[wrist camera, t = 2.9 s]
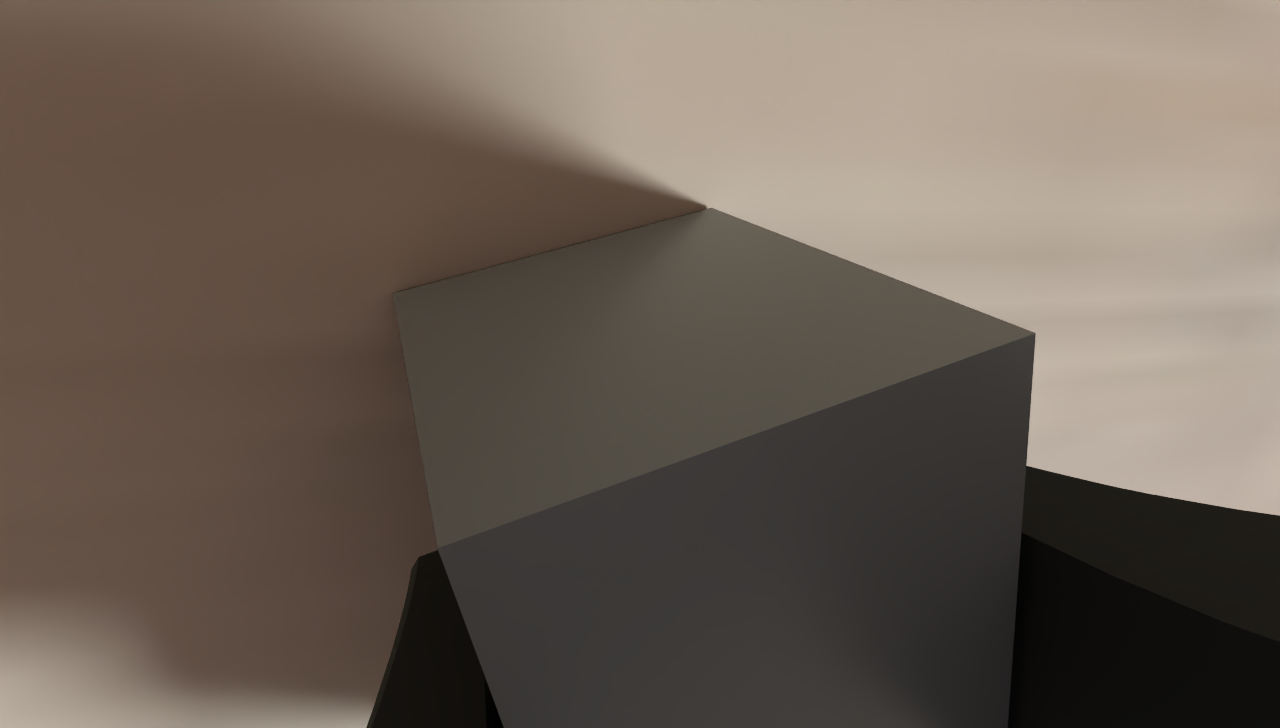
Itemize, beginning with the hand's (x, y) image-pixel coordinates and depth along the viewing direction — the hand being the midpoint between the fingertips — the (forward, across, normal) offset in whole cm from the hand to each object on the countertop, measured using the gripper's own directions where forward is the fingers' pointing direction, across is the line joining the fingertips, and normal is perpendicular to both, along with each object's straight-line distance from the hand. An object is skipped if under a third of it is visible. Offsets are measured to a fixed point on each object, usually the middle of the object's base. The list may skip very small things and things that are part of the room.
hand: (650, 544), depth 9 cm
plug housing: (+1, 0, 0) cm, 1 cm away
